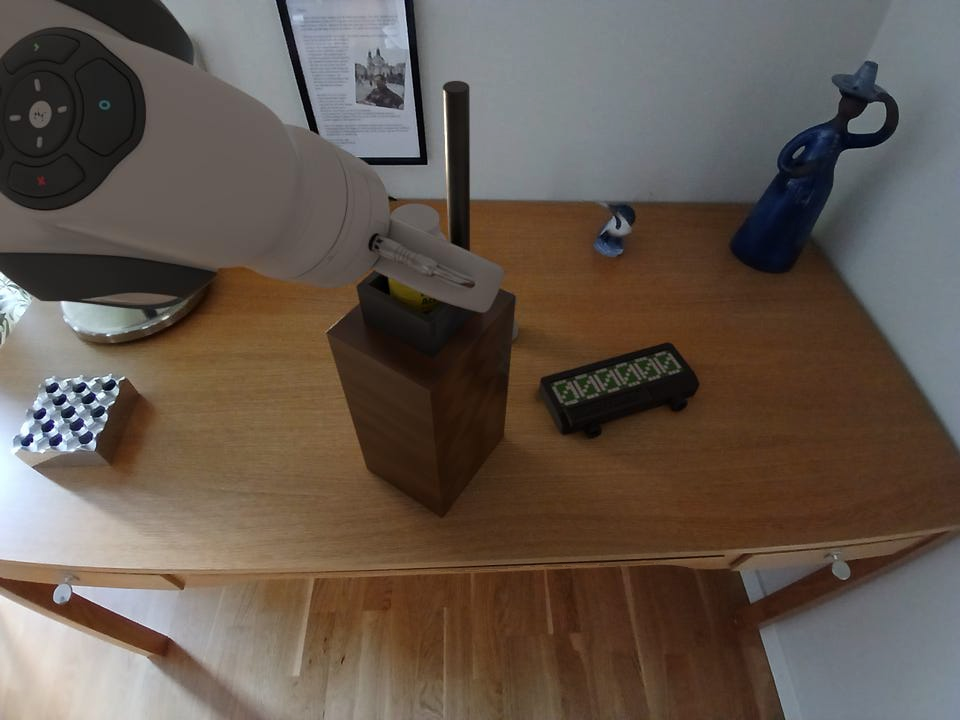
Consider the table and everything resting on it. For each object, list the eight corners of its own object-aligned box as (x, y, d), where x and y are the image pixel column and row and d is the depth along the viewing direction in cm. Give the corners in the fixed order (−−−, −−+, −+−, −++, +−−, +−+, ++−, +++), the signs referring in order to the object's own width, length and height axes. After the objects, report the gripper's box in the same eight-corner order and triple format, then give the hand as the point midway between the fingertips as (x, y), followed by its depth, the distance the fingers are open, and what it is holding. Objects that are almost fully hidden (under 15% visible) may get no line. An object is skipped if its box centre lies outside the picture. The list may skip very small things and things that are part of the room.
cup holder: (442, 518, 67) (411, 197, 32) (366, 468, 71) (266, 136, 36) (504, 435, 75) (532, 103, 40) (432, 395, 79) (401, 61, 44)
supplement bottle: (426, 334, 50) (419, 247, 42) (380, 310, 51) (365, 222, 44) (461, 300, 52) (460, 212, 45) (416, 277, 54) (408, 190, 47)
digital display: (569, 433, 71) (538, 376, 77) (566, 447, 74) (536, 390, 80) (711, 389, 76) (671, 339, 82) (703, 404, 78) (665, 353, 84)
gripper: (473, 226, 31) (541, 265, 44) (225, 122, 38) (346, 181, 51) (430, 329, 32) (509, 337, 45) (196, 209, 39) (322, 246, 52)
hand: (421, 254), depth 48 cm, fingers closed on supplement bottle, 5 cm apart
